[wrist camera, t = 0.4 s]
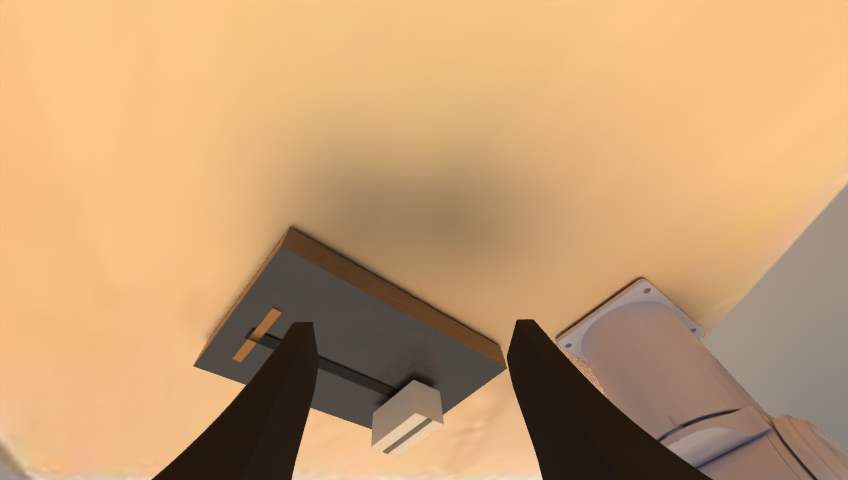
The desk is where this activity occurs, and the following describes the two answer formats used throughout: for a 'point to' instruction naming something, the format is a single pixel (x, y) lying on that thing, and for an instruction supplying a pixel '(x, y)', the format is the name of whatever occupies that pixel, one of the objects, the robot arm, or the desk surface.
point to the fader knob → (407, 418)
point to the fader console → (348, 334)
